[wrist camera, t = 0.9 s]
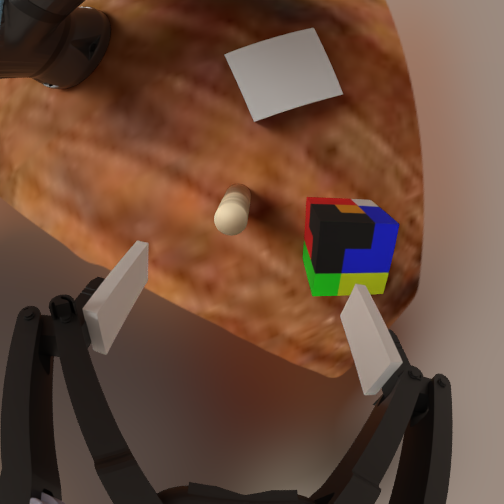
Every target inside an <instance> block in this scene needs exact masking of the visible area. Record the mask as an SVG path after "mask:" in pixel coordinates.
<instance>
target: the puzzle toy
mask: <svg viewBox="0 0 504 504" xmlns="http://www.w3.org/2000/svg"><path fill="white" fill-rule="evenodd" d="M398 228H399V223H398V222H396V221H395V220H394V219H393V218H392V217H391V216H389V215H388V214H387V213H386V212H385V211H383V210H382V209H381V208H380V207H379V206H377V205H376V204H375V203H374V202H372V201H371V200H361V199H342V198H317V197H307V202H306V220H305V235H304V248H303V262H304V266H305V270H306V274H307V277H308V281H309V285H310V289H311V293H312V296H341V295H351V293H352V290H353V288H354V286H355V284H360V285H365V286H366V287H367V289H368V291H369V293H370V294H383V292H384V289H385V285H386V281H387V277H388V274H389V270H390V265H391V261H392V257H393V253H394V248H395V243H396V239H397V234H398Z"/></svg>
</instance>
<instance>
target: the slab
mask: <svg viewBox="0 0 504 504" xmlns="http://www.w3.org/2000/svg"><path fill="white" fill-rule="evenodd" d="M224 55H225V57H226V59H227V62H228V64H229V66H230V68H231V70H232V72H233V75H234V77H235V79H236V81H237V83H238V86H239V88H240V90H241V92H242V95H243V97H244V99H245V102H246V104H247V106H248V109H249V111H250V113H251V116H252V118H253V120H254V122H256V121H259V120H262V119H265V118H267V117H270V116H273V115H276V114H279V113H282V112H285V111H288V110H291V109H294V108H297V107H301V106H304V105H307V104H311V103H314V102H318V101H321V100H325V99H328V98H332V97H336V96H339V95H343V93H342V90H341V87H340V85H339V82H338V80H337V77H336V75H335V73H334V70H333V68H332V66H331V63H330V61H329V59H328V57H327V54H326V52H325V50H324V48H323V46H322V44H321V42H320V39H319V37H318V35H317V33H316V31H315V29H314V28H310V29H305V30H301V31H296V32H292V33H288V34H285V35H281V36H277V37H274V38H270V39H267V40H264V41H261V42H258V43H254V44H251V45H248V46H246V47H243V48H240V49H237V50H235V51H232V52H229V53H227V54H224Z"/></svg>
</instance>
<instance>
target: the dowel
mask: <svg viewBox="0 0 504 504" xmlns="http://www.w3.org/2000/svg"><path fill="white" fill-rule="evenodd" d="M250 200H251V193H250V190H249V189H248V188H247V187H246V186H245V185H243V184H234V185H232V186H230V187H229V188H228V190H227V191H226V193H225V195H224V197H223V199H222V201H221V203H220V205H219V207H218V209H217V211H216V213H215V217H214V222H215V225H216V227H217V229H218V230H219V231H220V232H222V233H224V234H226V235H237V234H239V233H241V232H242V231H243V230H244V229H245V227H246V225H247V220H248V213H249V207H250Z"/></svg>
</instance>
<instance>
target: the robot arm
mask: <svg viewBox="0 0 504 504" xmlns="http://www.w3.org/2000/svg"><path fill="white" fill-rule="evenodd" d="M84 1H85V0H0V79H2V78H24V77H29V78H33V79H34V80H36V81H38V82H40V83H42V84H43V85H45V86H47V87H49V88H54V89H66V88H70V87H73V86H75V85H77V84H79V83H80V82H82V81H83V80H84V79H85V78H87V77H88V76H89V75H90V74H91V73H92V72H93V70H94V69H95V68H96V67H97V65H98V64H99V62H100V61H101V59H102V58H103V56H104V54H105V52H106V49H107V47H108V44H109V40H110V34H111V27H110V22H109V19H108V17H107V16H106V15H105V14H104V13H103V12H101V11H99V10H97V9H95V8H92V7H78V6H79V5H80V4H81V3H83V2H84ZM147 281H148V243H146V242H141V241H136V243H135V244H134V245H133V246H132V247H131V248H130V249H129V251H128V252H127V253H126V254H125V255H124V257H123V258H122V259H121V260H120V261H119V263H118V264H117V265H116V266H115V267H114V269H113V270H112V271H111V272H110V274H109V275H108V276H107V277H106V279H104V278H100V277H97V278H95V279H93V280H92V281H90V282H89V284H88V285H87V286H86V288H85V289H84V290H83V291H82V293H80V295H79V296H78V297H77V298H76V300H75V301H74V299H73V298H72V297H71V296H69V295H59V296H56V297H54V298H53V299H52V300H51V301H50V303H49V309H50V312H51V316H48V315H41V313H40V310H39V309H38V308H37V307H35V306H28V307H25V308H23V309H22V310H21V311H20V312H19V314H18V317H17V321H16V325H15V329H14V332H13V337H12V341H11V345H10V350H9V356H8V361H7V367H6V374H5V380H4V388H3V398H2V411H1V459H2V471H1V476H0V504H65V503H64V502H62V496H61V485H60V478H59V471H58V465H57V458H56V450H55V441H54V428H53V402H52V389H53V387H52V386H53V362H54V356H57V357H60V361H61V365H62V370H63V374H64V378H65V382H66V385H67V389H68V392H69V396H70V399H71V402H72V406H73V409H74V412H75V415H76V418H77V420H78V423H79V426H80V428H81V431H82V434H83V436H84V439H85V441H86V444H87V446H88V448H89V451H90V453H91V455H92V457H93V460H94V463H95V464H94V465H95V469H96V472H97V474H98V476H99V478H100V480H101V482H102V484H103V485H104V487H105V489H106V491H107V493H108V495H109V496H110V498H111V500H112V502H113V503H114V504H374V503H375V502H376V500H377V498H378V497H379V495H380V492H381V489H380V488H379V483H380V482H381V480H382V478H383V476H384V474H385V472H386V471H387V469H388V467H389V465H390V463H391V461H392V459H393V457H394V455H395V453H396V451H397V448H398V446H399V444H400V442H401V440H402V437H403V435H404V439H403V444H402V450H401V456H400V460H399V465H398V470H397V474H396V479H395V482H394V486H393V490H392V494H391V497H390V501H389V504H446V499H447V493H448V486H449V478H450V468H451V456H452V455H451V454H452V398H451V385H450V382H449V380H448V378H446V376H444V375H442V374H436V375H435V376H434V377H433V378H432V379H429V378H426V377H423V374H422V373H421V371H420V370H419V369H418V368H417V367H414V366H411V365H410V363H409V361H408V359H407V357H406V354H405V352H404V350H403V349H402V346H401V344H400V342H399V340H398V338H397V336H396V335H395V333H394V332H393V331H392V330H388V329H387V327H386V325H385V323H384V321H383V319H382V317H381V315H380V313H379V311H378V309H377V307H376V305H375V303H374V301H373V299H372V297H371V295H370V293H369V291H368V289H367V287H366V286H365V285H360V284H355V286H354V288H353V290H352V293H351V295H350V297H349V299H348V301H347V303H346V305H345V307H344V309H343V311H342V313H341V315H340V318H341V321H342V324H343V327H344V330H345V333H346V336H347V339H348V342H349V345H350V349H351V352H352V355H353V358H354V362H355V365H356V368H357V372H358V375H359V379H360V382H361V386H362V389H363V393H364V395H375V394H377V393H378V391H379V390H380V389H381V388H382V391H383V394H382V395H381V397H380V398H379V399H378V400H377V401H376V402H375V403H374V404H373V405H375V404H376V405H375V407H374V409H373V411H372V413H371V414H370V416H369V418H368V420H367V421H366V423H365V425H364V426H363V428H362V430H361V431H360V433H359V435H358V436H357V438H356V439H355V441H354V442H353V444H352V445H351V447H350V448H349V450H348V451H347V453H346V454H345V456H344V457H343V459H342V460H341V461H340V463H339V464H338V466H337V467H336V468H335V470H334V471H333V473H332V474H331V475H330V476H329V478H328V479H327V480H326V482H325V483H324V484H323V485H322V486H321V488H319V489H318V490H317V491H316V492H315V493H314V494H312V495H311V497H309V498H307V497H305V496H301V495H298V494H297V490H271V491H266V492H262V493H256V494H250V495H242V494H238V493H235V492H232V491H229V490H226V489H223V488H220V487H217V486H209V485H203V484H197V483H191V482H189V486H177V487H172V488H168V489H166V490H163V491H161V492H159V493H156V492H155V490H154V489H153V487H152V486H151V484H150V483H149V481H148V480H147V478H146V476H145V475H144V473H143V472H142V470H141V468H140V467H139V465H138V463H137V461H136V460H135V458H134V456H133V455H132V453H131V451H130V449H129V447H128V445H127V443H126V441H125V439H124V438H123V436H122V434H121V432H120V430H119V428H118V425H117V423H116V421H115V419H114V417H113V415H112V412H111V410H110V408H109V406H108V403H107V401H106V398H105V396H104V393H103V391H102V389H101V386H100V383H99V381H98V378H97V375H96V372H95V370H94V367H93V364H92V361H91V358H90V355H89V352H88V347H89V345H90V344H92V348H93V350H94V351H97V352H100V353H102V354H106V355H107V353H108V351H109V349H110V347H111V345H112V343H113V341H114V339H115V338H116V336H117V334H118V332H119V330H120V328H121V326H122V325H123V323H124V321H125V319H126V317H127V316H128V314H129V312H130V310H131V308H132V307H133V305H134V303H135V301H136V300H137V298H138V296H139V295H140V293H141V291H142V289H143V288H144V286H145V284H146V283H147Z"/></svg>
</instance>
